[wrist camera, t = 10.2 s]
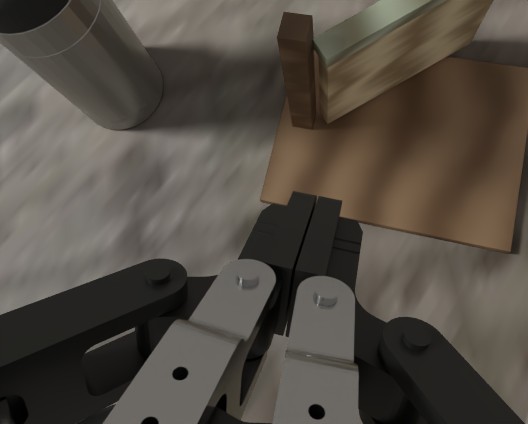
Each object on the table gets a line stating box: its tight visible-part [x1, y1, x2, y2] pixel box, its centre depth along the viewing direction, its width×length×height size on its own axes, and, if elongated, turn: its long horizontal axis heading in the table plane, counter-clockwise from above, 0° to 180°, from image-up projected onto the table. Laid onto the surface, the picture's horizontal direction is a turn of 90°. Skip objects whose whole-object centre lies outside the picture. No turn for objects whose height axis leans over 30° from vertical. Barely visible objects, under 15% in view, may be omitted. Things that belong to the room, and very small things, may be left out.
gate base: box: [260, 12, 528, 253], centre depth 37 cm, size 23×18×16 cm
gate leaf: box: [313, 0, 493, 124], centre depth 39 cm, size 17×2×12 cm, turn 119°
